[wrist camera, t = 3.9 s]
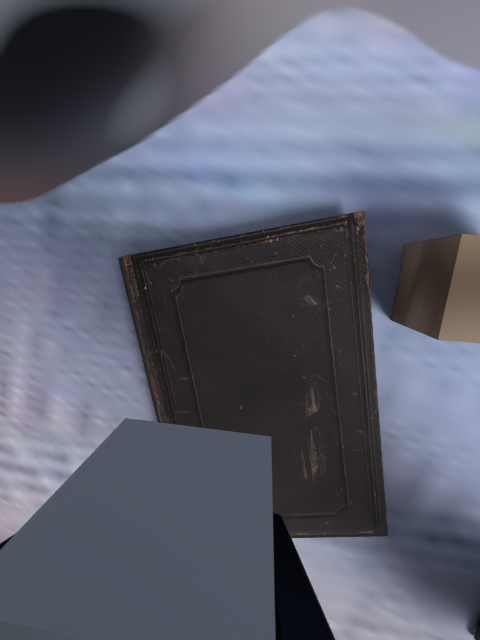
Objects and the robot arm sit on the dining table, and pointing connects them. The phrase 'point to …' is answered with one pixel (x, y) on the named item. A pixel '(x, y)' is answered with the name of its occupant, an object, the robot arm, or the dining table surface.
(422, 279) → the walnut cube
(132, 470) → the grey block
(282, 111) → the dining table surface
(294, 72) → the dining table surface
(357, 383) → the hardcover book
